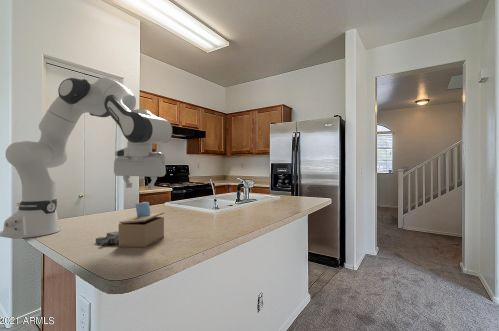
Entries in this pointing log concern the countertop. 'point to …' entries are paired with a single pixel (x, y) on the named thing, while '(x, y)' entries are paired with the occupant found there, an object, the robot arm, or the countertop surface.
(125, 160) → the robot arm
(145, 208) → the light blue cube
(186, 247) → the countertop surface
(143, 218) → the flap
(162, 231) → the carton
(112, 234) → the toy gun
